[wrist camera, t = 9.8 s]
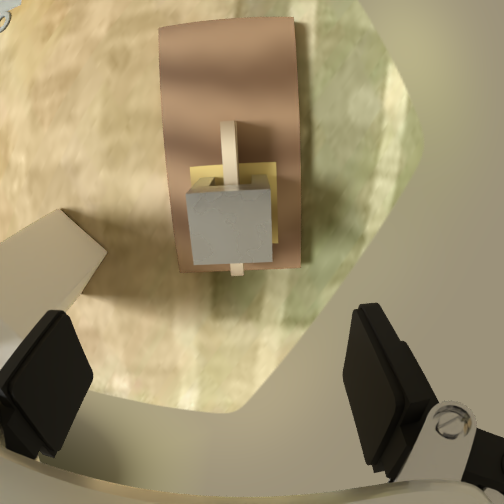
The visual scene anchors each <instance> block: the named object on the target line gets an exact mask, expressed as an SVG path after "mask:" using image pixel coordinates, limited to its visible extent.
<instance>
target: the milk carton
mask: <svg viewBox="0 0 504 504" xmlns="http://www.w3.org/2000/svg"><path fill="white" fill-rule="evenodd" d="M106 254H107V251H106V250H105V249H104V248H103V247H102V246H100V245H99V244H98V243H97V242H96V241H95V240H94V239H92V238H91V237H90V236H89V235H88V234H87V233H86V232H84V231H83V230H82V229H81V228H80V227H79V226H78V225H77V224H76V223H74V222H73V221H72V220H71V219H70V218H69V217H68V216H67V215H66V214H65V213H63V212H62V211H61V210H60V209H56V210H54V211H53V212H51V213H49V214H47V215H45V216H44V217H42V218H40V219H39V220H37V221H35V222H33V223H32V224H30V225H28V226H27V227H25V228H23V229H22V230H20V231H19V232H17V233H15V234H14V235H12V236H11V237H9V238H7V239H6V240H4V241H3V242H1V243H0V370H1V368H2V367H3V366H4V364H5V363H6V362H7V360H8V359H9V358H10V356H11V355H12V354H13V352H14V351H15V350H16V349H17V347H18V346H19V345H20V344H21V342H22V341H23V340H24V338H25V337H26V336H27V335H28V334H29V332H30V331H31V330H32V329H33V327H34V326H35V325H36V324H37V323H38V321H39V320H40V319H41V318H42V317H43V315H44V314H45V313H46V312H47V311H48V310H63V311H64V312H65V313H66V311H67V310H68V309H69V308H70V307H71V305H72V304H73V303H74V302H75V301H76V299H77V298H78V297H79V296H80V294H81V293H82V291H83V289H84V288H85V286H86V285H87V283H88V281H89V280H90V278H91V277H92V275H93V274H94V272H95V271H96V269H97V268H98V266H99V265H100V263H101V262H102V260H103V259H104V257H105V256H106Z"/></svg>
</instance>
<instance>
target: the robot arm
mask: <svg viewBox="0 0 504 504" xmlns="http://www.w3.org/2000/svg"><path fill="white" fill-rule="evenodd" d="M92 381H93V372H92V369H91V367H90V365H89V363H88V360H87V358H86V356H85V354H84V351H83V349H82V347H81V344H80V342H79V339H78V337H77V335H76V332H75V330H74V327H73V324H72V322H71V319H70V317H69V316H68V315H66V313H65V312H64V311H63V310H48V311H47V312H46V313H45V314H44V315H43V317H42V318H41V319H40V320H39V321H38V323H37V324H36V325H35V326H34V327H33V329H32V330H31V331H30V332H29V334H28V335H27V336H26V337H25V338H24V340H23V341H22V342H21V344H20V345H19V346H18V347H17V349H16V350H15V351H14V352H13V354H12V355H11V356H10V358H9V359H8V360H7V362H6V363H5V364H4V366H3V367H2V368H1V370H0V504H504V438H503V437H500V436H497V435H494V434H492V433H489V432H486V431H483V430H481V429H478V428H477V421H476V418H475V415H474V414H473V412H472V411H471V409H469V408H468V407H467V406H466V405H464V404H462V403H460V402H455V401H444V402H441V403H439V402H438V400H437V398H436V396H435V394H434V392H433V390H432V388H431V386H430V384H429V382H428V381H427V379H426V377H425V375H424V373H423V371H422V369H421V368H420V366H419V364H418V362H417V360H416V359H415V357H414V355H413V353H412V352H411V350H410V348H409V346H408V345H407V343H406V342H404V341H400V339H399V338H398V336H397V334H396V332H395V331H394V329H393V327H392V325H391V324H390V322H389V320H388V318H387V317H386V315H385V313H384V312H383V310H382V308H381V306H380V305H379V304H378V303H369V304H360V305H359V308H358V309H355V310H354V311H353V314H352V320H351V327H350V334H349V340H348V346H347V352H346V357H345V363H344V368H343V382H344V385H345V389H346V392H347V396H348V399H349V402H350V406H351V410H352V413H353V416H354V421H355V424H356V428H357V431H358V435H359V439H360V443H361V446H362V450H363V454H364V458H365V462H366V464H367V465H372V467H373V470H374V473H376V472H381V471H385V474H386V477H387V478H389V481H388V482H387V483H385V484H379V485H373V486H366V487H360V488H353V489H346V490H340V491H333V492H324V493H315V494H304V495H290V496H274V497H217V496H201V495H189V494H178V493H170V492H162V491H154V490H148V489H142V488H136V487H130V486H125V485H120V484H116V483H111V482H106V481H102V480H98V479H94V478H90V477H86V476H82V475H79V474H76V473H72V472H69V471H65V470H62V469H59V468H55V467H53V466H50V465H47V464H44V463H41V462H40V461H39V457H38V452H39V451H40V452H41V453H42V454H43V455H46V456H50V457H53V458H55V455H56V453H57V451H59V450H61V448H62V445H63V443H64V441H65V439H66V436H67V434H68V432H69V430H70V427H71V425H72V423H73V421H74V419H75V416H76V414H77V412H78V410H79V408H80V406H81V404H82V401H83V399H84V397H85V395H86V393H87V391H88V389H89V387H90V385H91V383H92Z"/></svg>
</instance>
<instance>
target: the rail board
mask: <svg viewBox="0 0 504 504" xmlns="http://www.w3.org/2000/svg"><path fill="white" fill-rule="evenodd" d="M159 69H160V90H161V107H162V122H163V135H164V147H165V158H166V168H167V178H168V187H169V196H170V205H171V213H172V221H173V228H174V235H175V243H176V250H177V256H178V263H179V269H180V273H182V272H211V271H231V276H244V270H261V269H283V268H301V156H300V120H299V96H298V75H297V58H296V43H295V29H294V17H249V18H232V19H219V20H209V21H200V22H192V23H185V24H179V25H172V26H166V27H161V28H159ZM258 174H267V178H268V181H269V185H270V189H271V220H272V260H273V262H259V263H235V264H209V265H194V263H193V255H192V247H191V239H190V231H189V222H188V213H187V204H186V193H187V192H188V191H189V189H190V188H191V187H192V186H193V185H194V184H195V183H196V182H197V181H198V180H199V179H200V178H205V177H215V186H223V185H241V184H251V183H252V175H258Z"/></svg>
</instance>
